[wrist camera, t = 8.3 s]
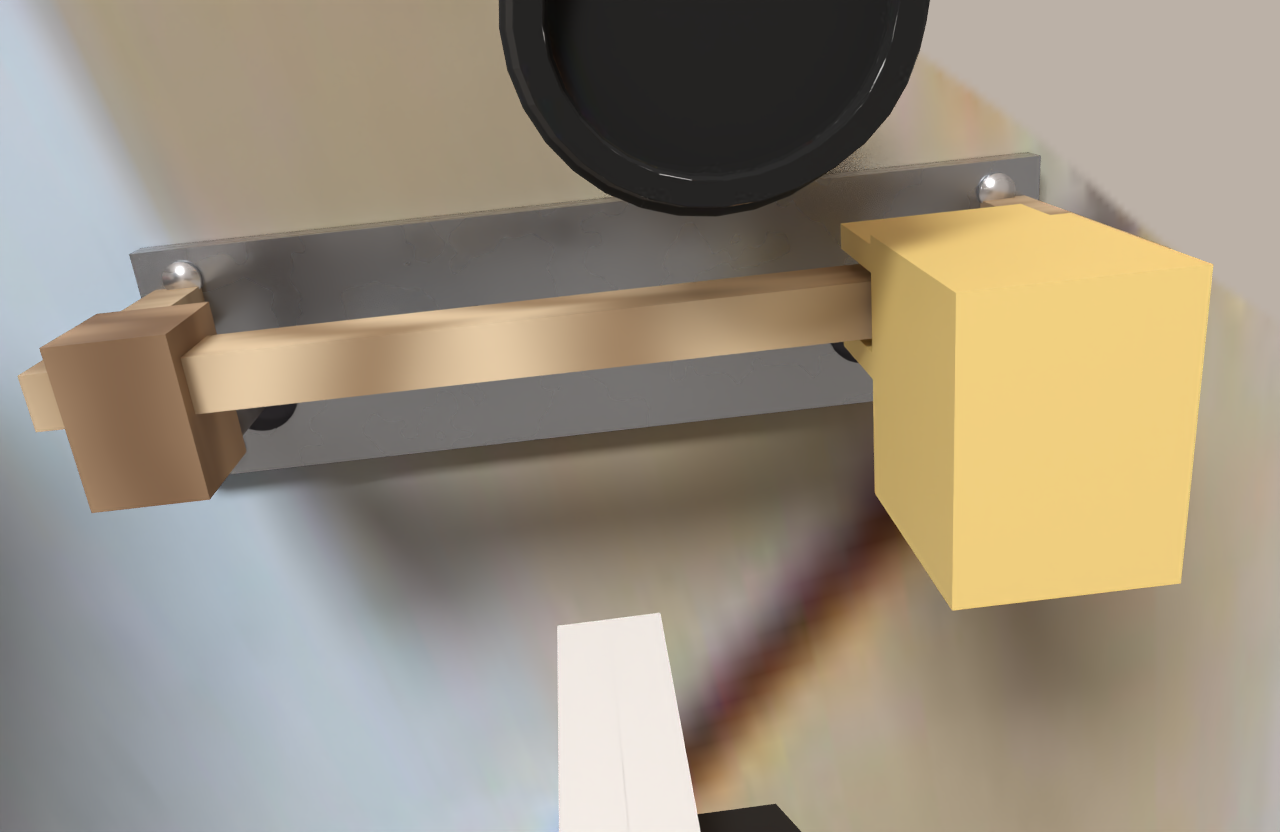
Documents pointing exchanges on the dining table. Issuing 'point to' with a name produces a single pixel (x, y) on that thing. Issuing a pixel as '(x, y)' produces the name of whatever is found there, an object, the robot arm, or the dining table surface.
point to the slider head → (1032, 399)
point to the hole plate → (545, 268)
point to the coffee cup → (708, 91)
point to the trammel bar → (384, 362)
